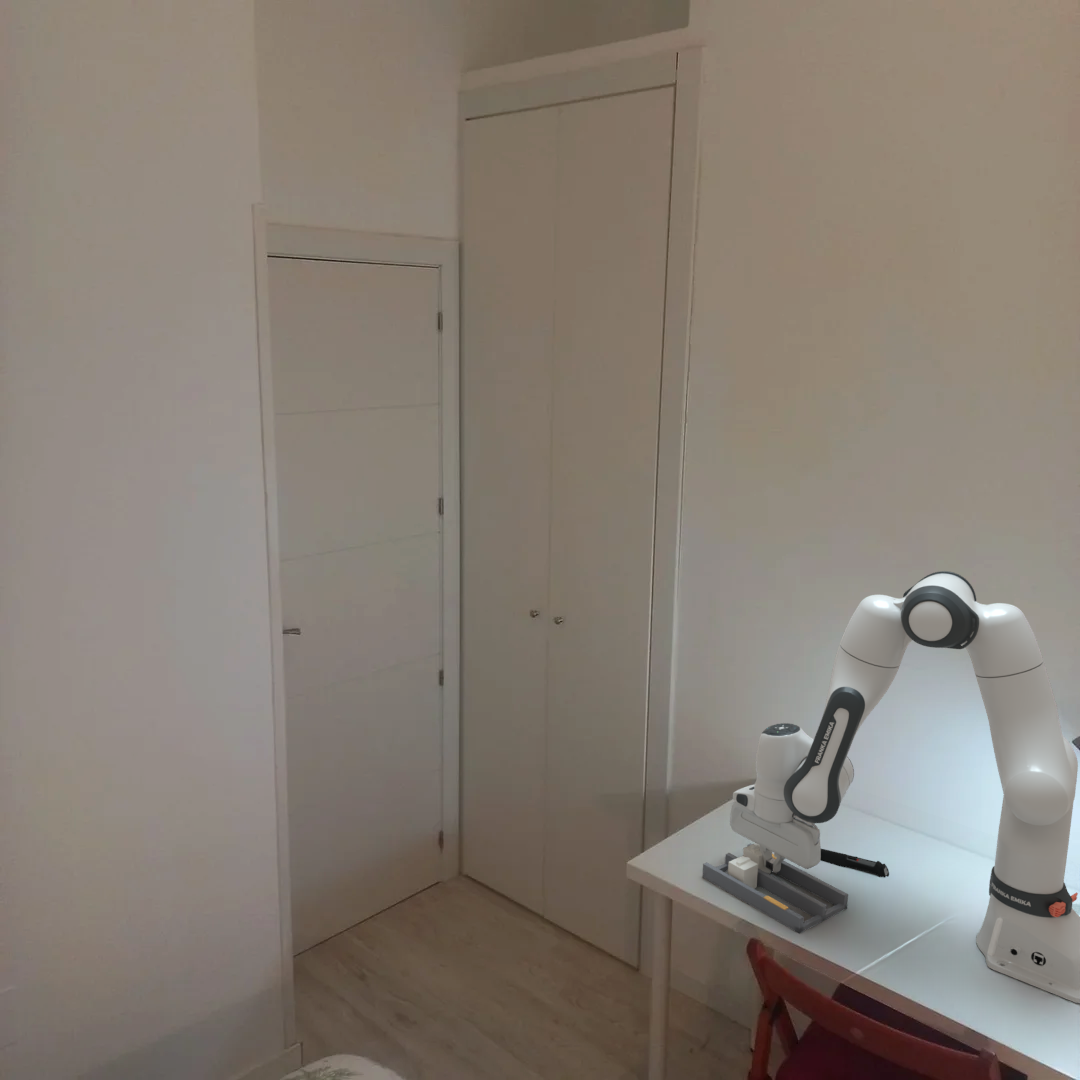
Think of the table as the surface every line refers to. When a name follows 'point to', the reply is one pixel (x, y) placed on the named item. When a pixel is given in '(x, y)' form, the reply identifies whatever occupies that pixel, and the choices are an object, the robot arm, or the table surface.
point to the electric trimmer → (854, 862)
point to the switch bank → (782, 894)
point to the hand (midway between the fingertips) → (772, 869)
